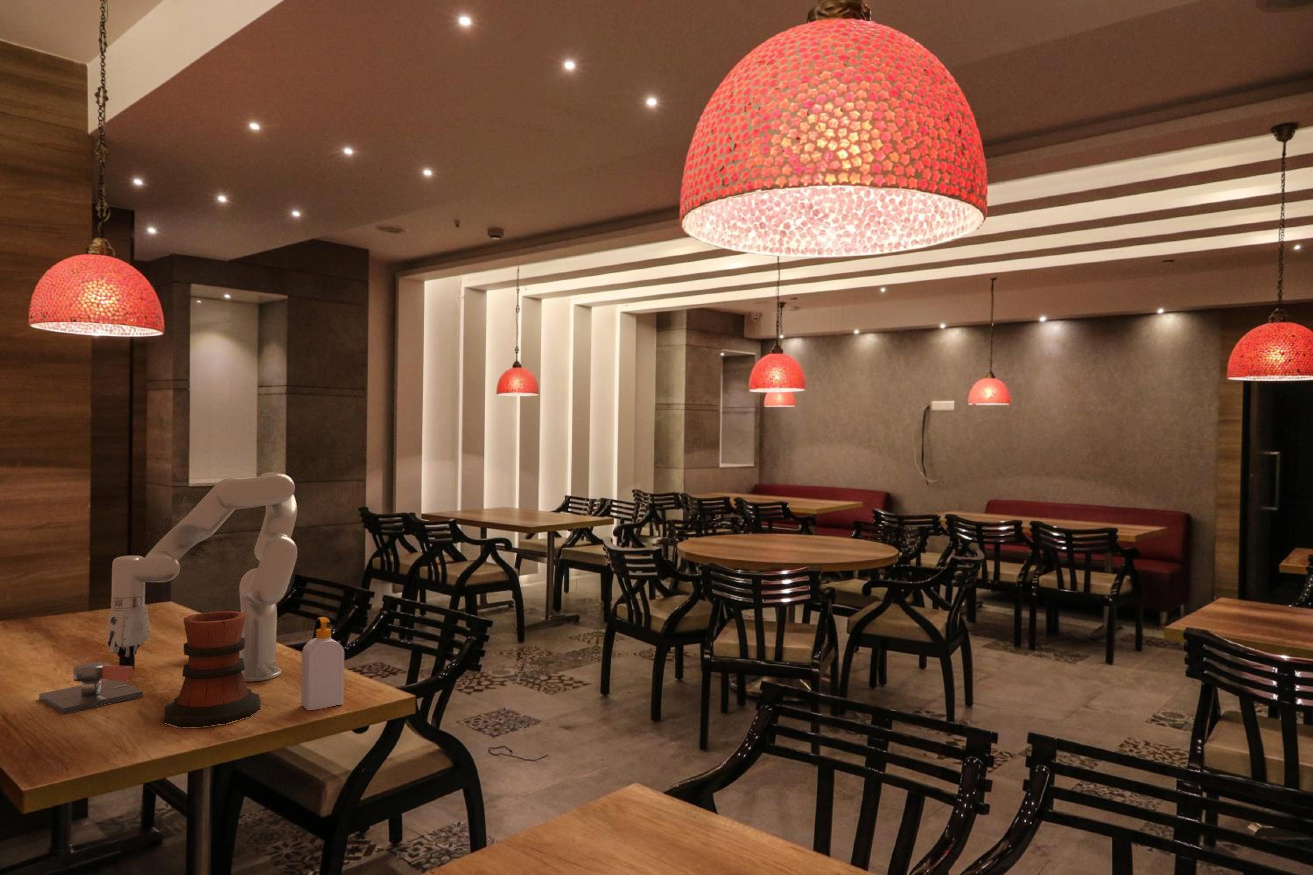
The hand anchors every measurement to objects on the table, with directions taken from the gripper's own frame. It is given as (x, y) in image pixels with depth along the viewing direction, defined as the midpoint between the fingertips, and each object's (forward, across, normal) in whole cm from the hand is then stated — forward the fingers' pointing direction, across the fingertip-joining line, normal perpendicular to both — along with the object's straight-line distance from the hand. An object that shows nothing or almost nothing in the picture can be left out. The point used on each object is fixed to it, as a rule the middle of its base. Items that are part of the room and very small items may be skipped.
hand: (126, 670), depth 216 cm
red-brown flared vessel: (+7, -6, -30) cm, 31 cm away
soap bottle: (+7, +4, -54) cm, 54 cm away
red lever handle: (+2, -2, +4) cm, 5 cm away
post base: (+7, -2, +8) cm, 11 cm away
